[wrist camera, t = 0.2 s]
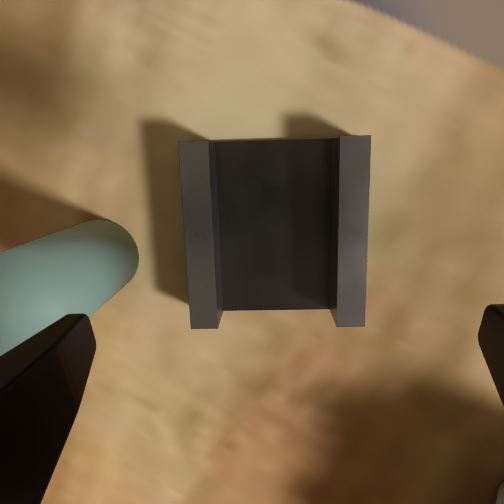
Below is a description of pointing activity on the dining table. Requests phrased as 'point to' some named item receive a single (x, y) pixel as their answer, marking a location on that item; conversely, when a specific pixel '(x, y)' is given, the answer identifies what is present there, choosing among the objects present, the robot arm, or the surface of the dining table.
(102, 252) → the teal peg
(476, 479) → the dining table surface
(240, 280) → the rail dock
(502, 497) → the lucky cat figurine
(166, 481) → the dining table surface
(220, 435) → the dining table surface
